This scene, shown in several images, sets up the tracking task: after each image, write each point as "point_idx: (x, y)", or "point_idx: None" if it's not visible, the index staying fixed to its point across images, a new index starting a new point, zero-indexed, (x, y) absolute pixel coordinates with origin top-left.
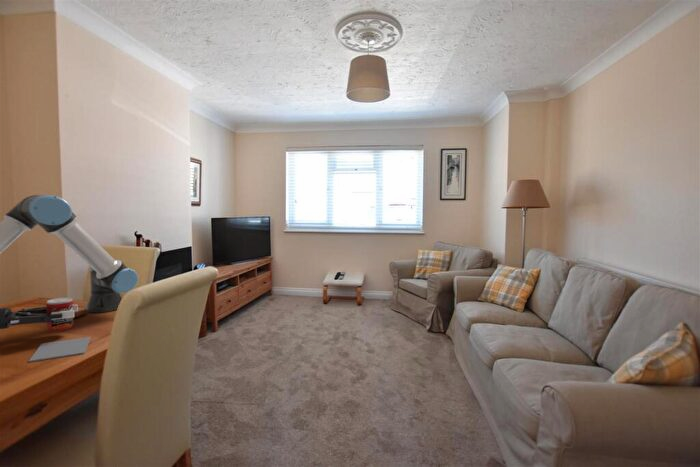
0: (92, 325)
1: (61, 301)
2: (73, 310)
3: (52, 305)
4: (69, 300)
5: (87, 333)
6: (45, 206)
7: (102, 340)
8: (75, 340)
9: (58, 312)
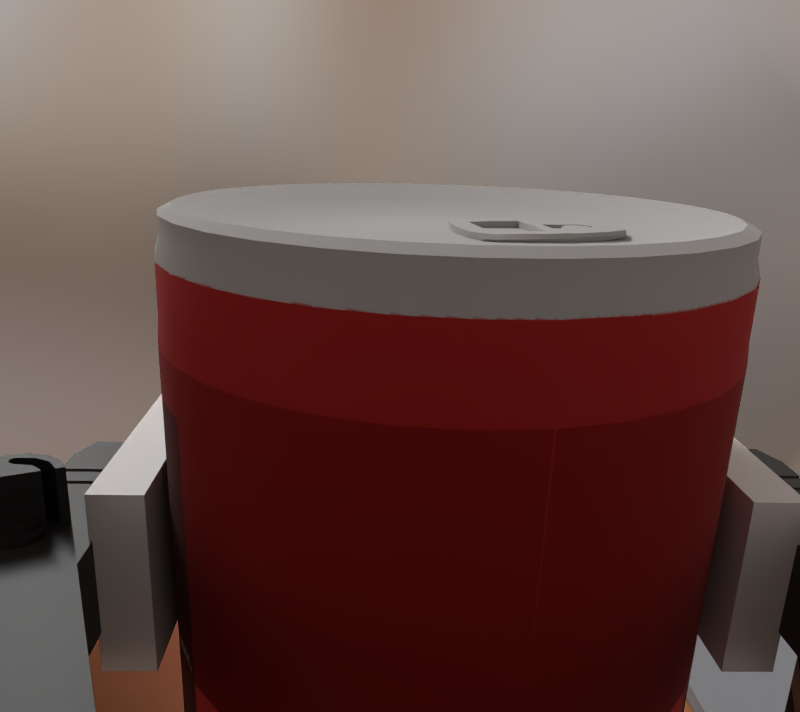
0: (96, 649)
1: (554, 222)
2: None
3: (754, 310)
4: (550, 193)
5: None
6: None
7: None
8: (765, 706)
9: (738, 446)
